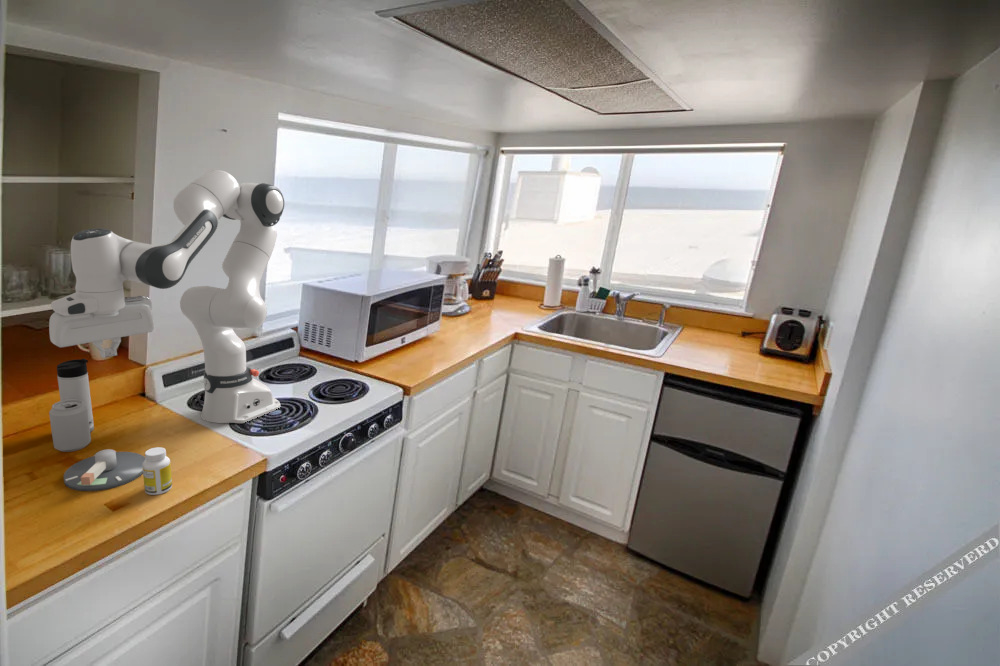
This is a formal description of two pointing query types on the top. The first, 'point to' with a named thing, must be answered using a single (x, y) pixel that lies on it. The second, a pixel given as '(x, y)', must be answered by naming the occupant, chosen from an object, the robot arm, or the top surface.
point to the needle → (100, 465)
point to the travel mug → (75, 384)
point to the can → (70, 425)
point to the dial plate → (106, 472)
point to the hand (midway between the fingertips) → (108, 356)
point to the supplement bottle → (156, 471)
